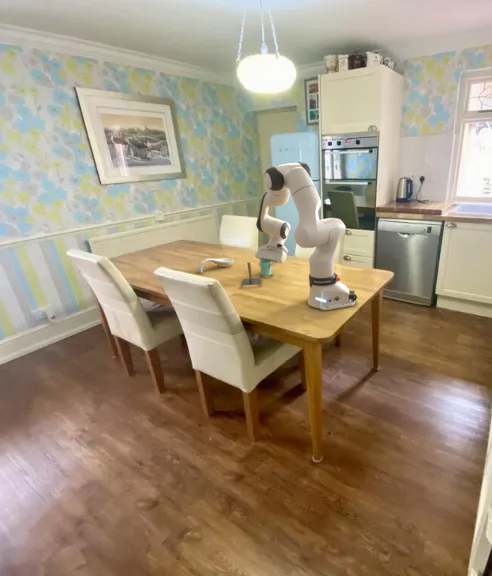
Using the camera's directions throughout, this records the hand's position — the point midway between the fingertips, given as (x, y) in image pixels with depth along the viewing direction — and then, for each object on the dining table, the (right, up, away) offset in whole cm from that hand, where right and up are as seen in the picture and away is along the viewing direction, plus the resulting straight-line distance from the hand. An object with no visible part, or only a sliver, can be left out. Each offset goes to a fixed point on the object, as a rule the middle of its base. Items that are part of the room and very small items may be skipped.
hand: (265, 267), depth 184 cm
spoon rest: (-34, 0, +19) cm, 39 cm away
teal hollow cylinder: (0, -5, +3) cm, 6 cm away
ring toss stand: (-6, -10, -8) cm, 14 cm away
